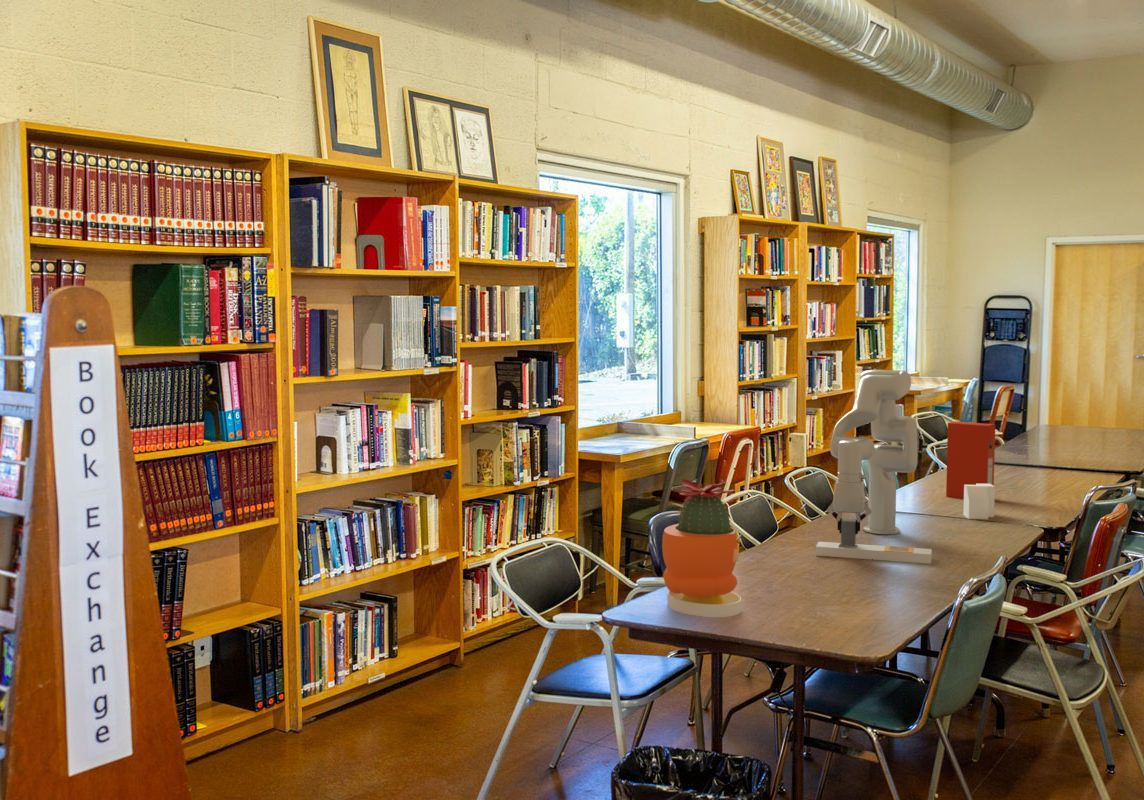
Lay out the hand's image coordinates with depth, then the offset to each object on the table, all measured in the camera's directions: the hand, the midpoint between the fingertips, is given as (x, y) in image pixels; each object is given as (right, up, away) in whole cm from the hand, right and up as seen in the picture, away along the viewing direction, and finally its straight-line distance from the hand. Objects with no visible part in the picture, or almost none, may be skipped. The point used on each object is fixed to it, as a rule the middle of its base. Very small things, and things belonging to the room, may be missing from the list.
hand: (848, 532), depth 357 cm
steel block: (0, -4, 0) cm, 4 cm away
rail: (+7, -8, -2) cm, 11 cm away
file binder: (+79, +1, +107) cm, 133 cm away
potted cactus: (-57, -13, -63) cm, 86 cm away
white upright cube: (+68, -2, +66) cm, 95 cm away
